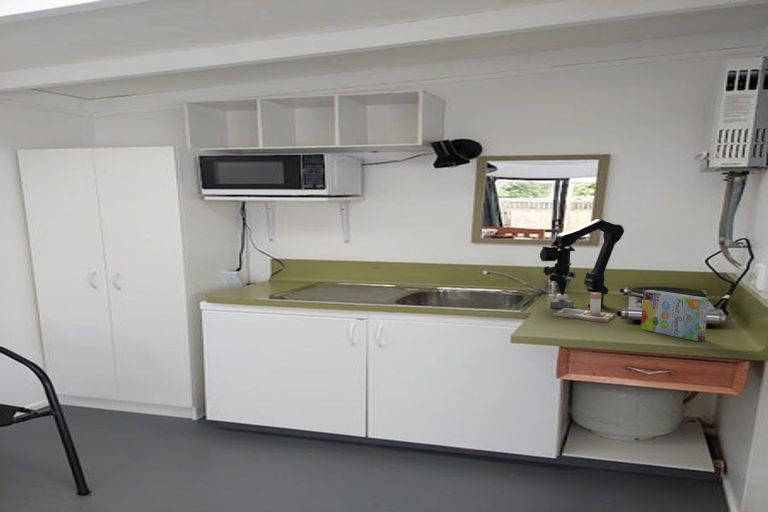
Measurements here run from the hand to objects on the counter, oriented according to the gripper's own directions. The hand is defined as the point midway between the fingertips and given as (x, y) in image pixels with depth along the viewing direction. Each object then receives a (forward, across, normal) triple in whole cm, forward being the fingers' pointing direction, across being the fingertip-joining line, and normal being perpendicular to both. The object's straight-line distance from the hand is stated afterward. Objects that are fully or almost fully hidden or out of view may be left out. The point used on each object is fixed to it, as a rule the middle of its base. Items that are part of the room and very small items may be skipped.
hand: (562, 294), depth 232 cm
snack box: (+6, +25, +48) cm, 54 cm away
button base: (+6, 0, 0) cm, 6 cm away
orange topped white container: (+5, +12, +18) cm, 22 cm away
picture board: (+6, +12, +14) cm, 19 cm away
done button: (+5, 0, 0) cm, 5 cm away
